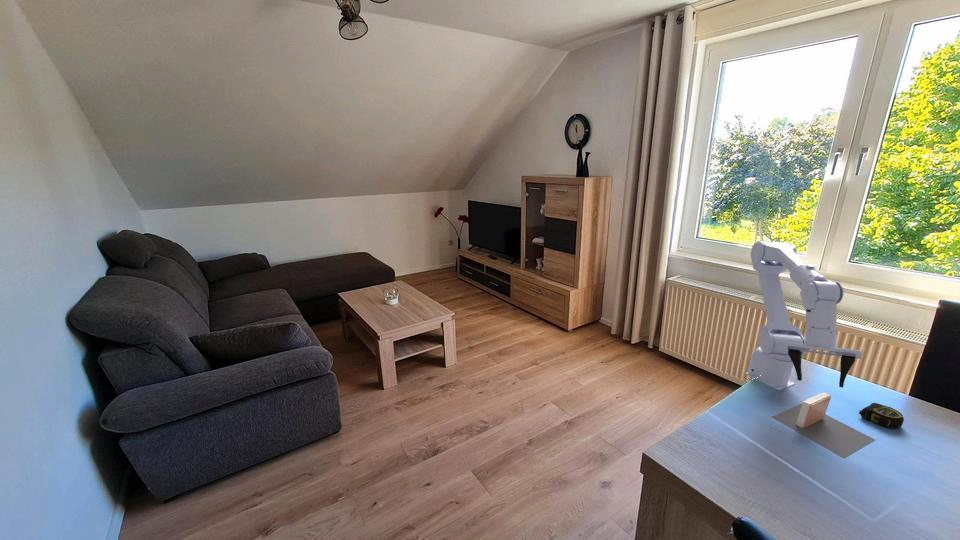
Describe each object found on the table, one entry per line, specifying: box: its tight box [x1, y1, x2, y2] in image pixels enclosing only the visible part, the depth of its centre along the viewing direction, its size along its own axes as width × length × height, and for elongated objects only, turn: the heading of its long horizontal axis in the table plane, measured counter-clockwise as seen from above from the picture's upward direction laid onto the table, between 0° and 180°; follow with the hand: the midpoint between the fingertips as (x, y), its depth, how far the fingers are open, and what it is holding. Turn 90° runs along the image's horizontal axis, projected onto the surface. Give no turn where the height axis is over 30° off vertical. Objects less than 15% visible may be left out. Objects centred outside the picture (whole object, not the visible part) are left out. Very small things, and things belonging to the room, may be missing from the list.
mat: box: [771, 402, 876, 459], centre depth 93 cm, size 15×14×1 cm
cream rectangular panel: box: [796, 392, 832, 428], centre depth 94 cm, size 2×9×7 cm, turn 114°
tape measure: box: [858, 402, 905, 430], centre depth 95 cm, size 7×7×4 cm
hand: (819, 383), depth 93 cm, fingers open, 7 cm apart
